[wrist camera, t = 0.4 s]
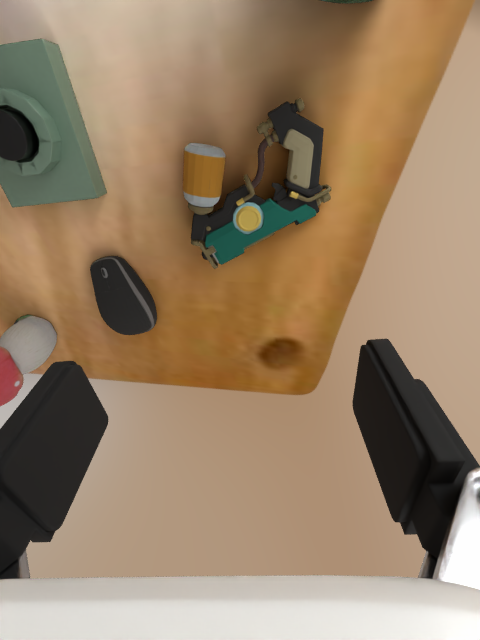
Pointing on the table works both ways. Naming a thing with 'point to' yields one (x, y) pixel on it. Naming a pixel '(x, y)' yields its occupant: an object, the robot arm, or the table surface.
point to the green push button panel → (46, 128)
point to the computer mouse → (122, 296)
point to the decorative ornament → (23, 352)
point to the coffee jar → (346, 1)
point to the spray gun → (242, 204)
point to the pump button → (16, 136)
